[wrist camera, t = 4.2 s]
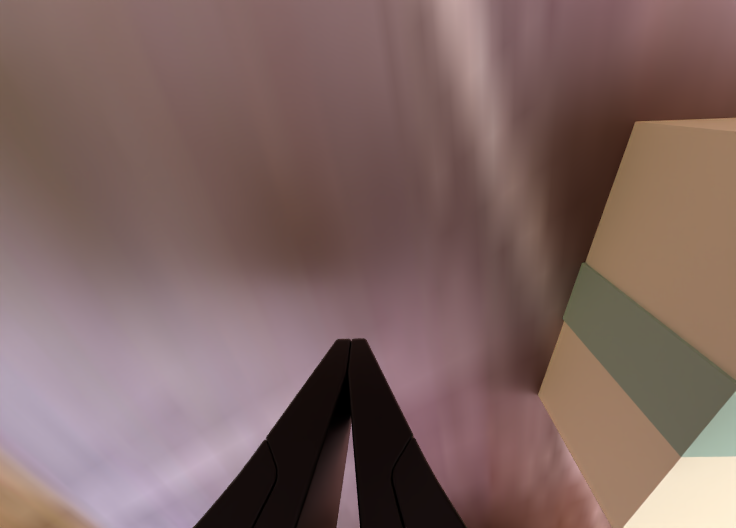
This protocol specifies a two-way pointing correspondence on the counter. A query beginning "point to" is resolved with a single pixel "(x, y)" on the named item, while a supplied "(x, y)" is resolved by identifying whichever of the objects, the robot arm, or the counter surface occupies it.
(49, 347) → the counter surface
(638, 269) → the carton
